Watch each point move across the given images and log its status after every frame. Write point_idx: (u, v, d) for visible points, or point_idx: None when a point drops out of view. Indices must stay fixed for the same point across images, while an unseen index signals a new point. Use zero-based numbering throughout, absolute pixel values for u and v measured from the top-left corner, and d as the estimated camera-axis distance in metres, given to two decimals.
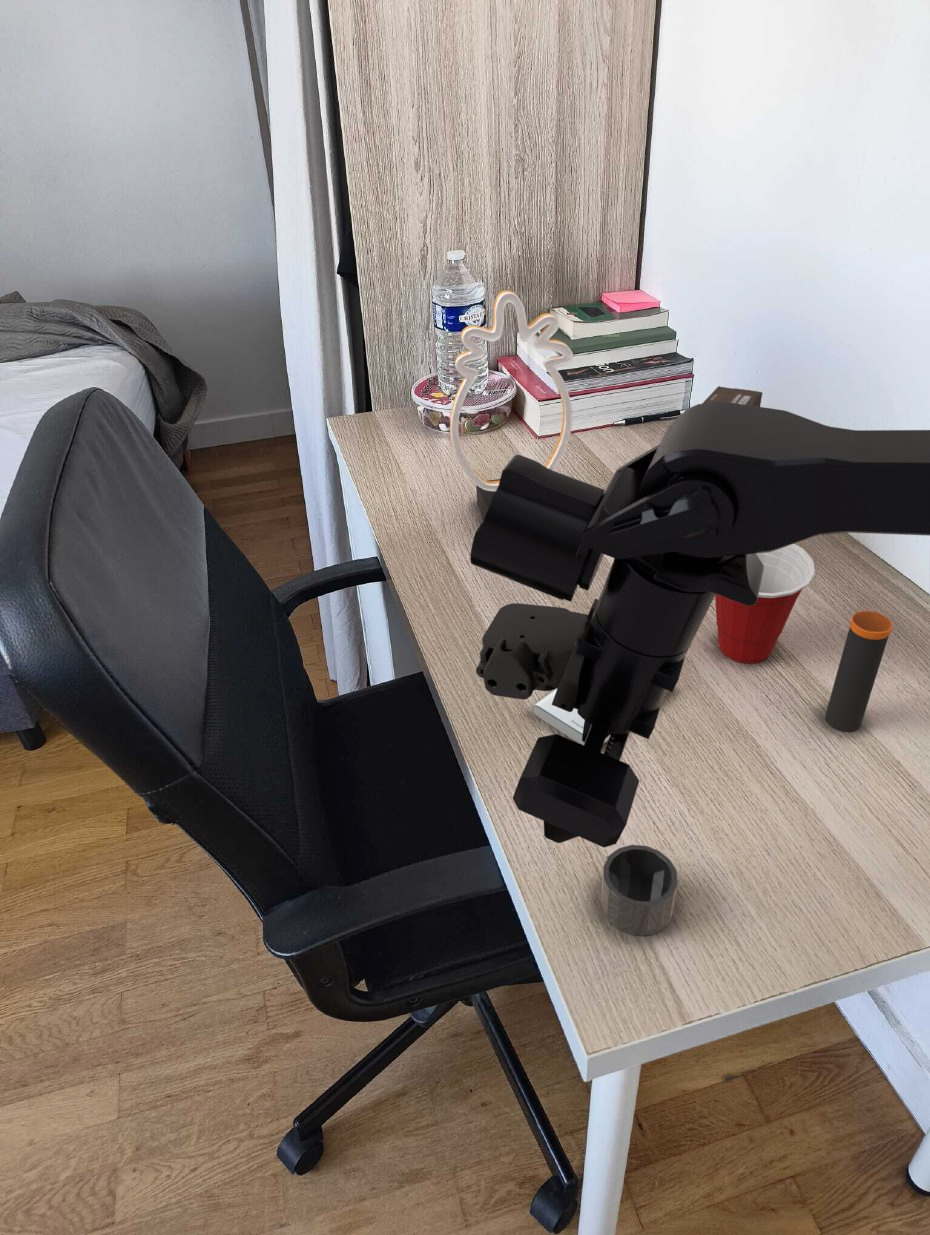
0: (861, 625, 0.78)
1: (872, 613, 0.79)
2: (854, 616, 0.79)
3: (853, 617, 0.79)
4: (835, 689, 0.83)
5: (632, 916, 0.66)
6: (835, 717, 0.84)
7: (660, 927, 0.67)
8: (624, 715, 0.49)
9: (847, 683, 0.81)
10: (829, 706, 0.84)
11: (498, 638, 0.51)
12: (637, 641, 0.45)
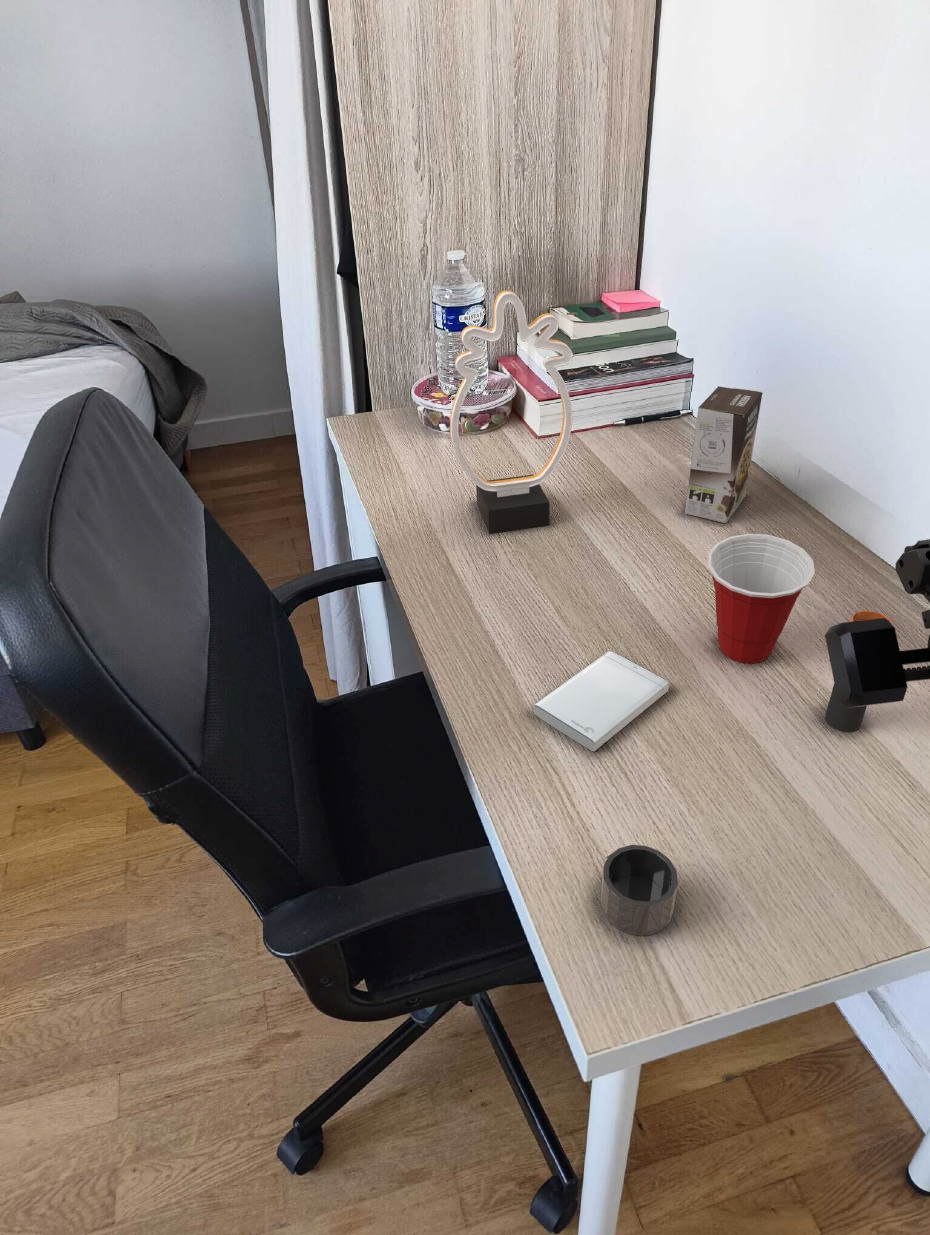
0: None
1: (872, 613, 0.79)
2: (854, 616, 0.79)
3: (853, 617, 0.79)
4: (835, 689, 0.83)
5: (632, 916, 0.66)
6: (835, 717, 0.84)
7: (660, 927, 0.67)
8: None
9: None
10: (829, 706, 0.84)
11: None
12: None
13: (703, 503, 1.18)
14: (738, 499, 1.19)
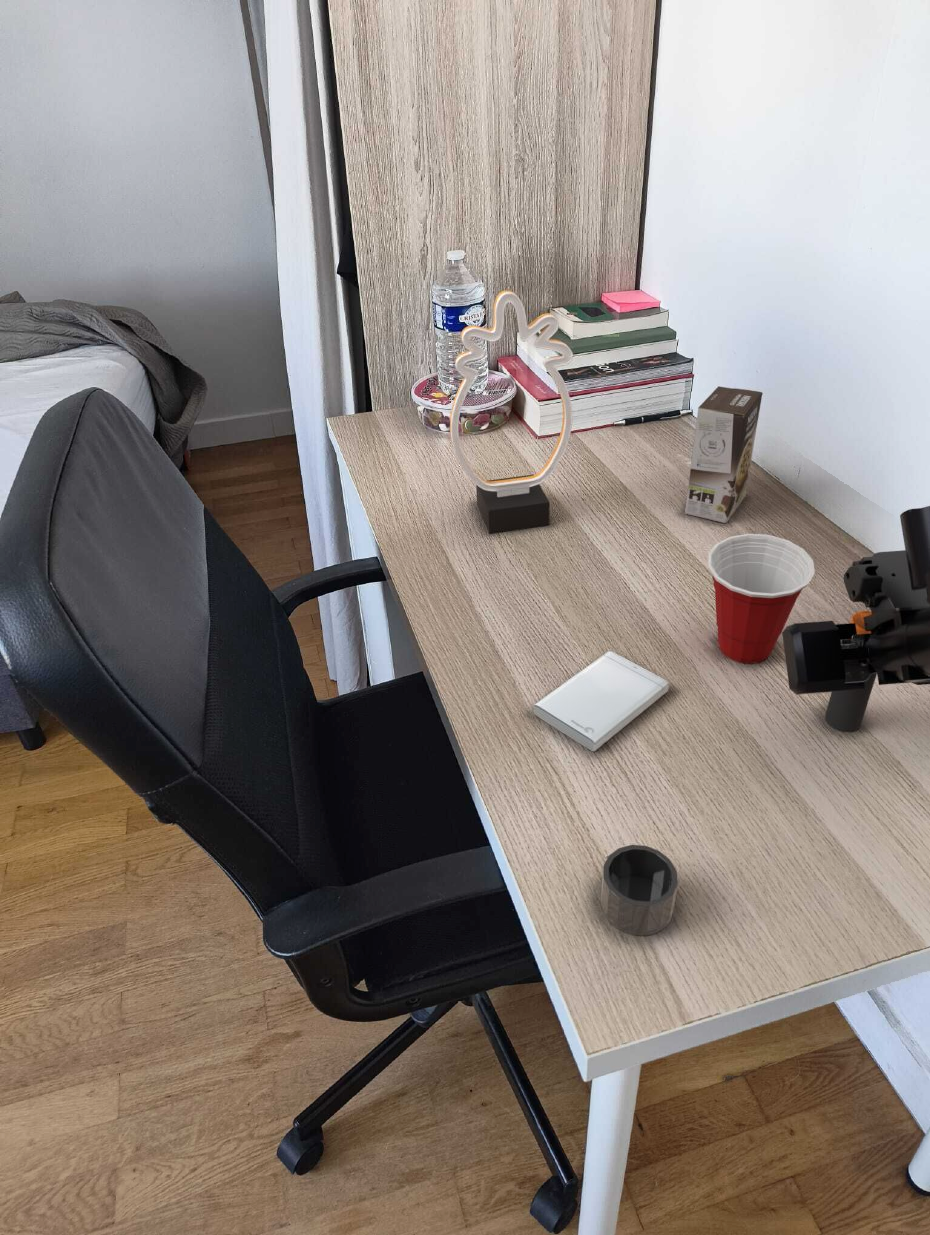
0: (861, 625, 0.78)
1: None
2: (854, 616, 0.79)
3: (853, 617, 0.79)
4: None
5: (632, 916, 0.66)
6: (835, 717, 0.84)
7: (660, 927, 0.67)
8: (880, 662, 0.72)
9: None
10: (829, 706, 0.84)
11: (883, 561, 0.72)
12: (910, 642, 0.66)
13: (703, 503, 1.18)
14: (738, 499, 1.19)
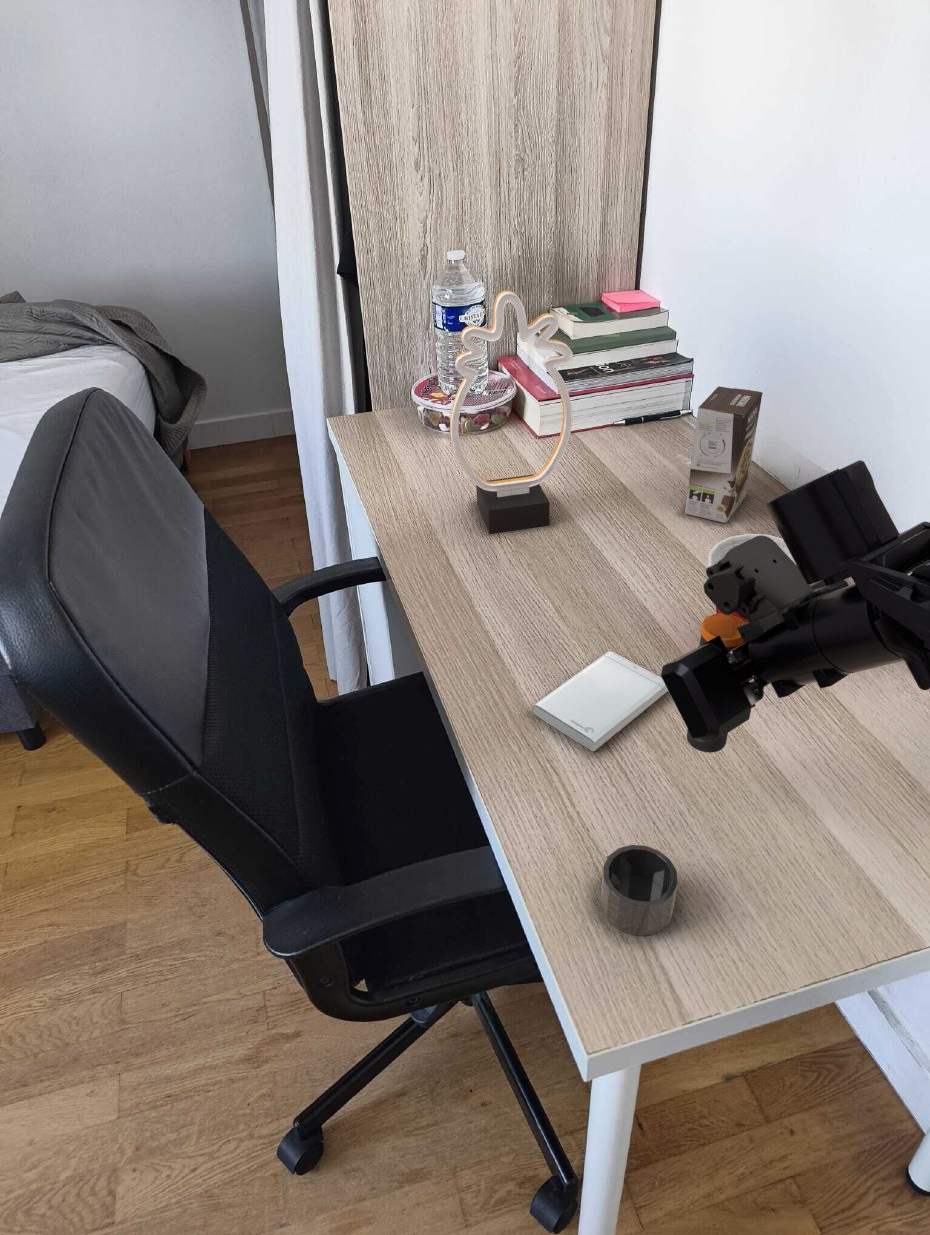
0: (719, 634, 0.66)
1: (718, 616, 0.68)
2: (704, 626, 0.67)
3: (704, 627, 0.67)
4: None
5: (632, 916, 0.66)
6: None
7: (660, 927, 0.67)
8: (777, 674, 0.61)
9: None
10: None
11: (739, 559, 0.61)
12: (827, 645, 0.56)
13: (703, 503, 1.18)
14: (738, 499, 1.19)
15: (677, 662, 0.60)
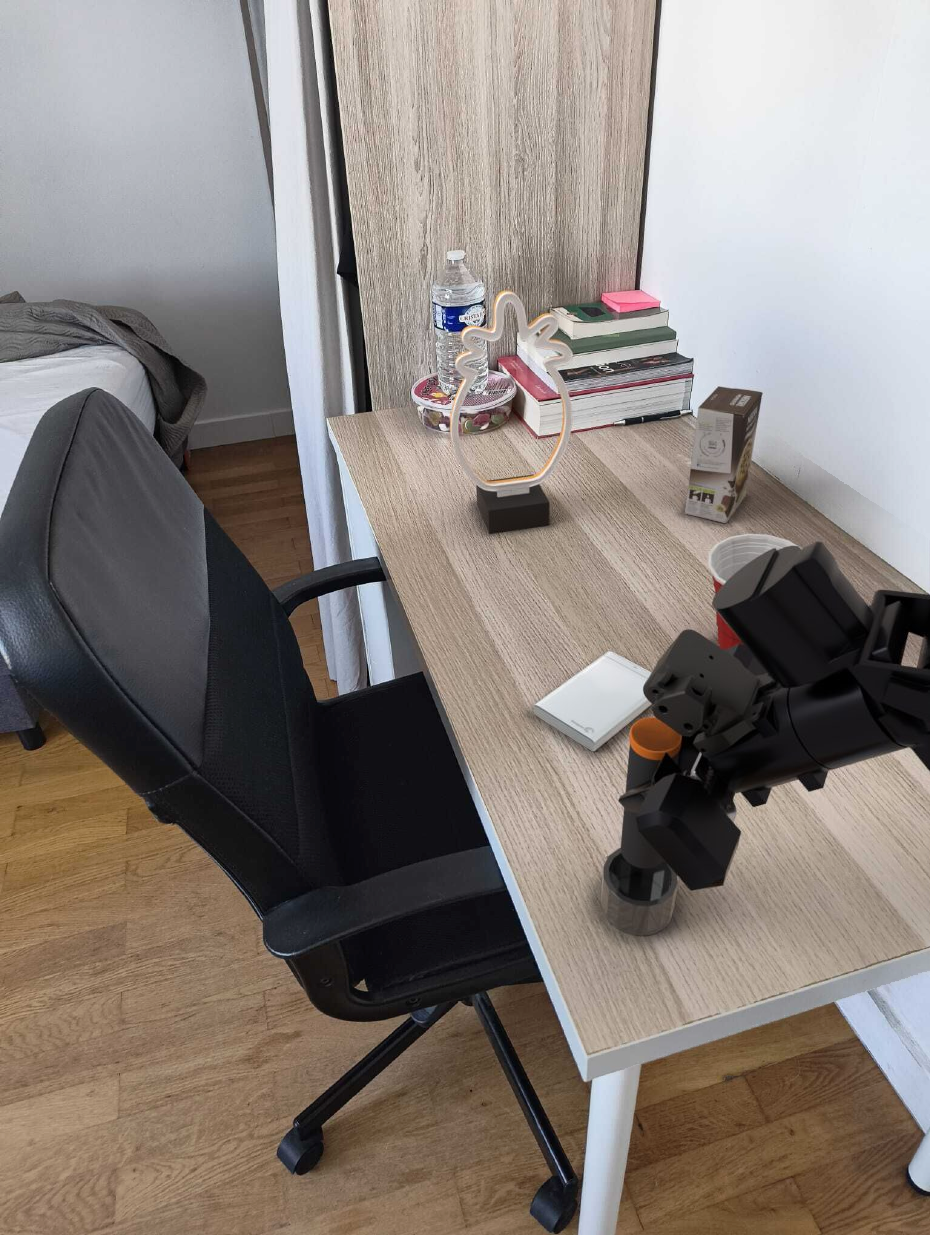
0: (656, 746, 0.57)
1: (642, 723, 0.59)
2: (636, 740, 0.57)
3: (637, 742, 0.57)
4: None
5: (632, 916, 0.66)
6: (648, 856, 0.63)
7: (660, 927, 0.67)
8: (751, 784, 0.53)
9: None
10: (634, 849, 0.63)
11: (680, 667, 0.52)
12: (819, 749, 0.48)
13: (703, 503, 1.18)
14: (738, 499, 1.19)
15: (658, 812, 0.49)
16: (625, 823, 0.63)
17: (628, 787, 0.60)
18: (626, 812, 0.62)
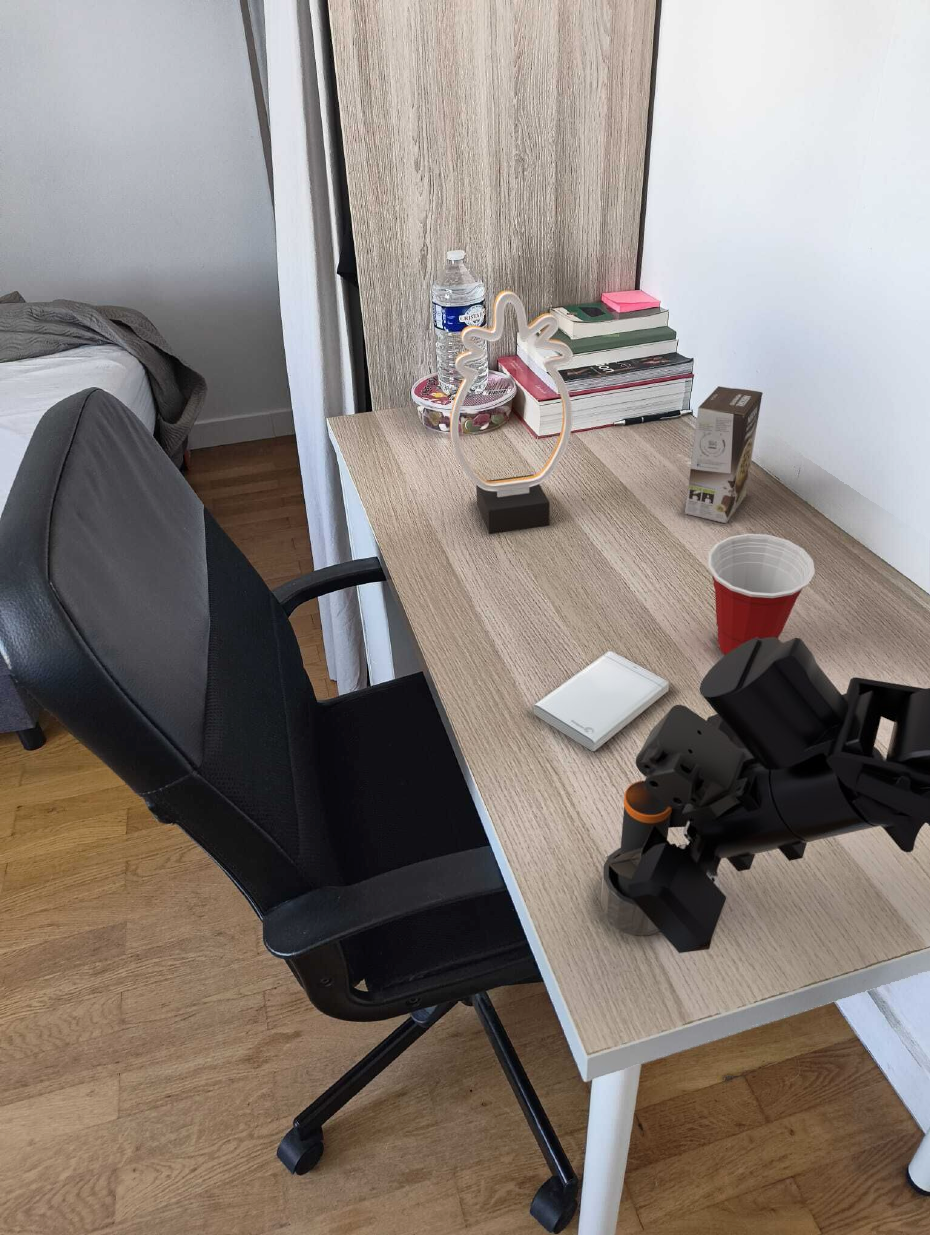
0: (649, 810, 0.61)
1: (635, 786, 0.63)
2: (630, 804, 0.61)
3: (631, 806, 0.61)
4: None
5: (632, 916, 0.66)
6: None
7: None
8: (736, 851, 0.56)
9: None
10: None
11: (670, 743, 0.56)
12: (798, 824, 0.52)
13: (703, 503, 1.18)
14: (738, 499, 1.19)
15: (649, 882, 0.53)
16: (620, 877, 0.66)
17: (623, 845, 0.64)
18: None
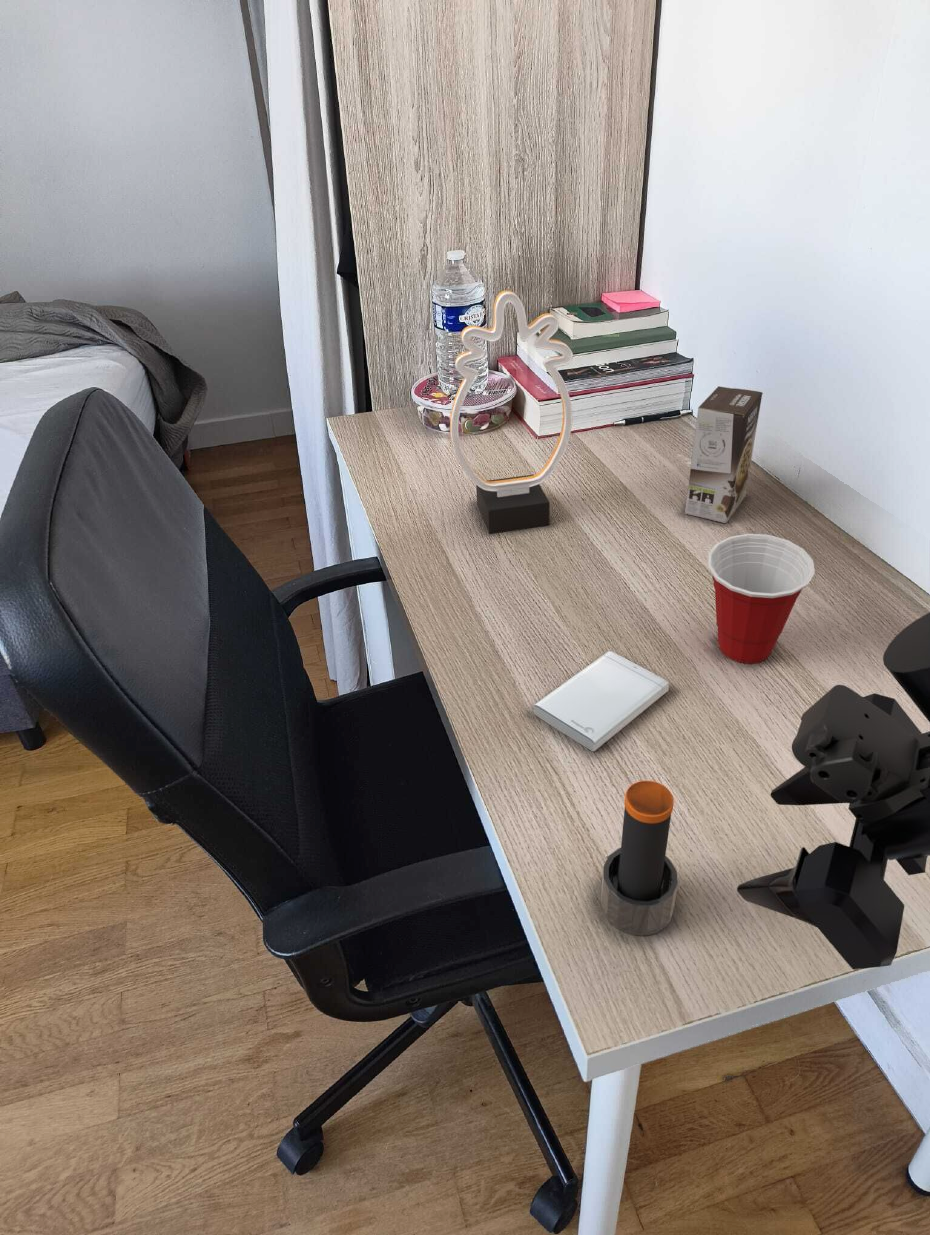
0: (650, 810, 0.61)
1: (636, 786, 0.63)
2: (630, 804, 0.61)
3: (631, 806, 0.61)
4: (633, 883, 0.65)
5: (632, 916, 0.66)
6: None
7: (660, 927, 0.67)
8: (911, 852, 0.49)
9: (650, 871, 0.64)
10: None
11: (839, 728, 0.48)
12: None
13: (703, 503, 1.18)
14: (738, 499, 1.19)
15: (824, 888, 0.46)
16: (620, 877, 0.66)
17: (623, 845, 0.64)
18: (621, 867, 0.66)
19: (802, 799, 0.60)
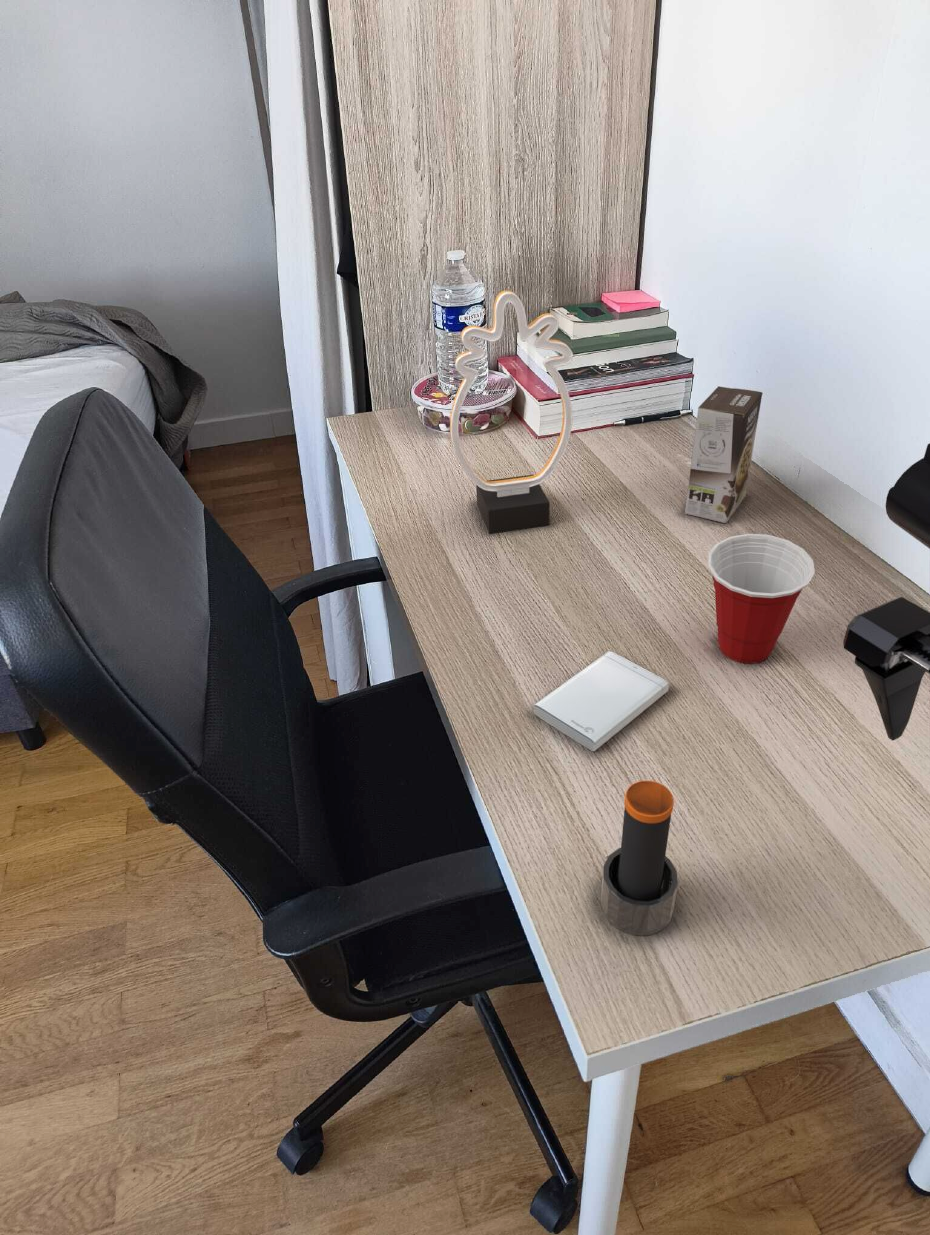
0: (650, 810, 0.61)
1: (636, 786, 0.63)
2: (630, 804, 0.61)
3: (631, 806, 0.61)
4: (633, 883, 0.65)
5: (632, 916, 0.66)
6: None
7: (660, 927, 0.67)
8: None
9: (650, 871, 0.64)
10: None
11: None
12: None
13: (703, 503, 1.18)
14: (738, 499, 1.19)
15: None
16: (620, 877, 0.66)
17: (623, 845, 0.64)
18: (621, 867, 0.66)
19: None
